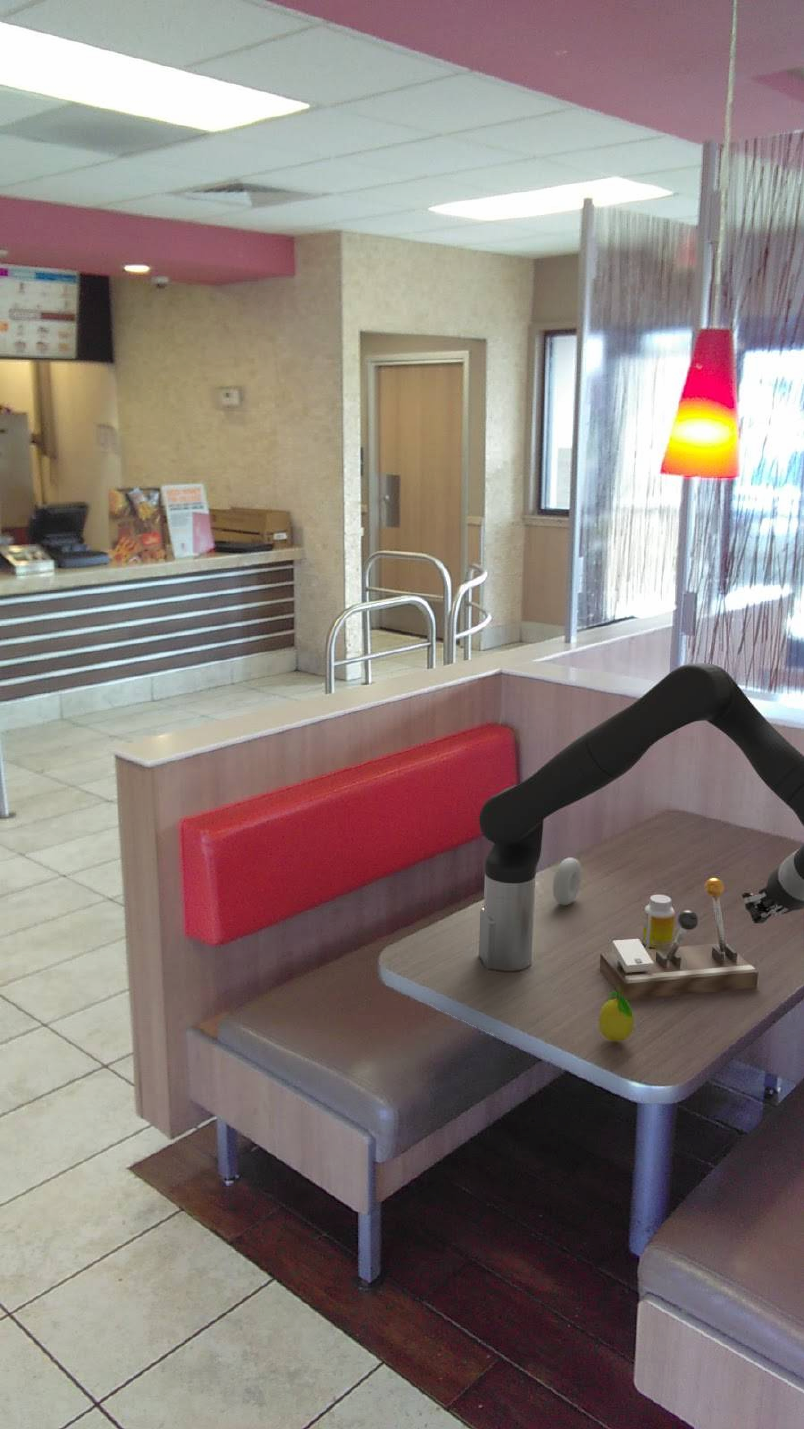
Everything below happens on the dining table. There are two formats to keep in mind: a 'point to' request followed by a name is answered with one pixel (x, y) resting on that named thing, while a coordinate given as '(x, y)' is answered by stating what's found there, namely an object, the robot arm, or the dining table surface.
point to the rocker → (632, 955)
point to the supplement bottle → (658, 923)
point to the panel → (682, 972)
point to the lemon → (616, 1018)
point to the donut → (567, 881)
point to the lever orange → (717, 908)
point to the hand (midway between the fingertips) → (756, 917)
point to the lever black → (682, 930)
